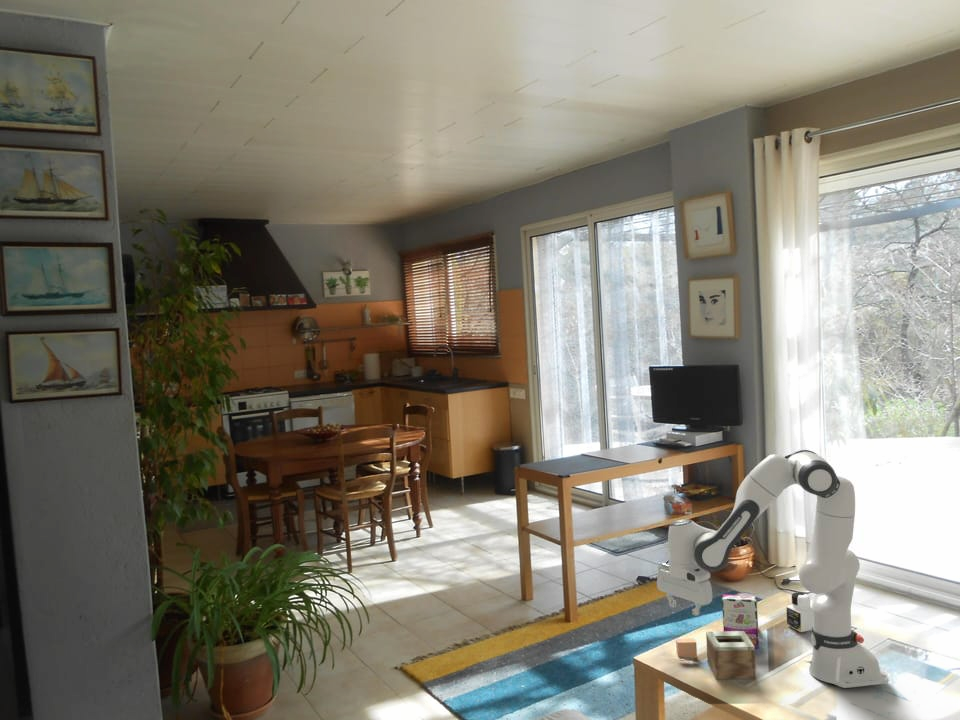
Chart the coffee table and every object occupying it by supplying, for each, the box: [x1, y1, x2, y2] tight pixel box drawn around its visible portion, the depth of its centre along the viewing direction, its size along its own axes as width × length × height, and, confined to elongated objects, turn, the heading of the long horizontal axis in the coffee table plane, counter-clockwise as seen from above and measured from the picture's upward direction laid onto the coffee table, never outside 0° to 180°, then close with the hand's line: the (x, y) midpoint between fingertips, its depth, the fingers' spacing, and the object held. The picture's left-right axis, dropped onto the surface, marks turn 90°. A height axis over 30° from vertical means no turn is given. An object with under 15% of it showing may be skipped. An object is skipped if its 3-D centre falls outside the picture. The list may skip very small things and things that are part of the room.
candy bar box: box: [721, 594, 760, 649], centre depth 253 cm, size 11×5×16 cm, turn 71°
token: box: [675, 638, 698, 659], centre depth 245 cm, size 6×3×6 cm, turn 85°
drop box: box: [705, 630, 757, 680], centre depth 235 cm, size 12×12×10 cm
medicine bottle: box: [785, 591, 813, 633], centre depth 264 cm, size 7×7×12 cm
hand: (684, 610), depth 244 cm, fingers open, 8 cm apart
